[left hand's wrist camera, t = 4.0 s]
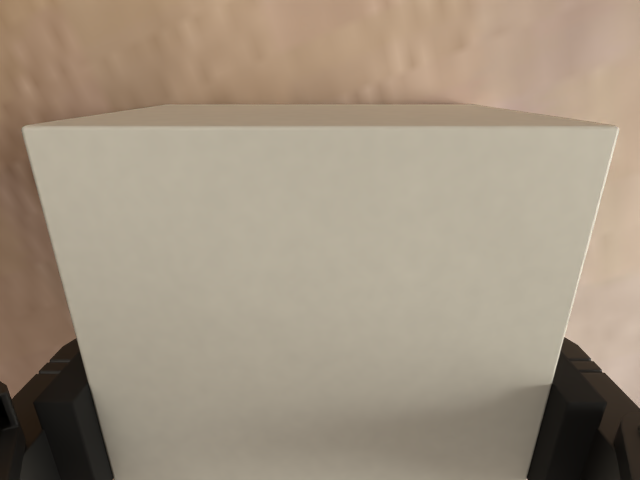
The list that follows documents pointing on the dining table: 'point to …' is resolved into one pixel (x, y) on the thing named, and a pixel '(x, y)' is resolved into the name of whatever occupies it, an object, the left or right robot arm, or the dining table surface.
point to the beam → (320, 282)
